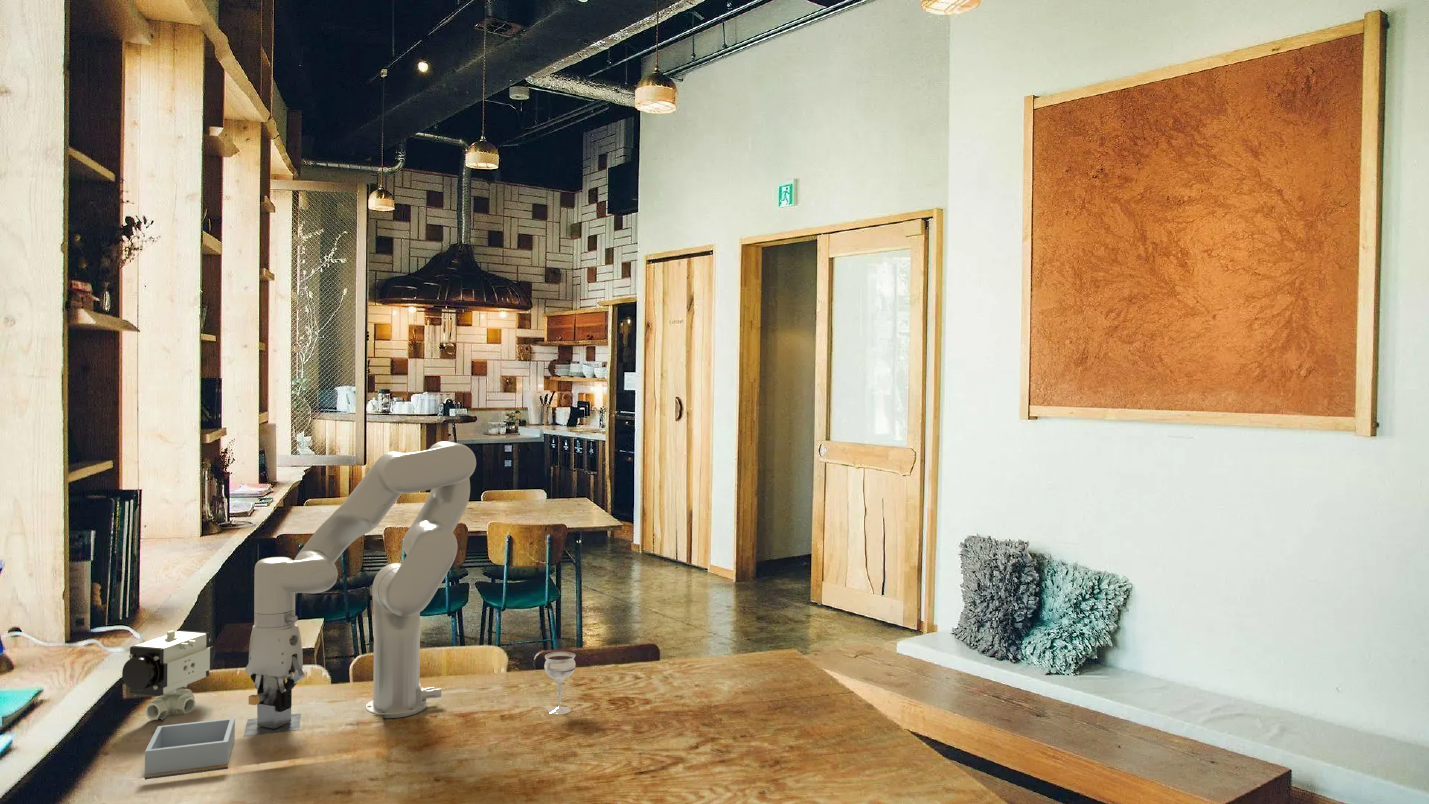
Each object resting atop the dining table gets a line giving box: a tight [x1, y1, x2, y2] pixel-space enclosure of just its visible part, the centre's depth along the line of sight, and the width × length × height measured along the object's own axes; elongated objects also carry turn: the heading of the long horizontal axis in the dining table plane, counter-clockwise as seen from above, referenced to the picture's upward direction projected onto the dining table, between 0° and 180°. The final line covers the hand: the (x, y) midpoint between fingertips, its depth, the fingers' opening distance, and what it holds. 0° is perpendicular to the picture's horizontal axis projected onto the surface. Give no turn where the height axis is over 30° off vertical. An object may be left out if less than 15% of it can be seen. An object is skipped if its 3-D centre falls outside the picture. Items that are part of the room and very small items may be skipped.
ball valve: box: [121, 629, 216, 721], centre depth 193 cm, size 18×8×18 cm, turn 168°
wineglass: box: [543, 651, 577, 715], centre depth 200 cm, size 7×7×12 cm
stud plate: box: [243, 713, 302, 737], centre depth 186 cm, size 10×10×5 cm
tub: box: [144, 717, 236, 780], centre depth 170 cm, size 13×13×5 cm
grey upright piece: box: [248, 674, 292, 729], centre depth 185 cm, size 8×4×12 cm, turn 161°
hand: (274, 707), depth 186 cm, fingers closed on grey upright piece, 4 cm apart
